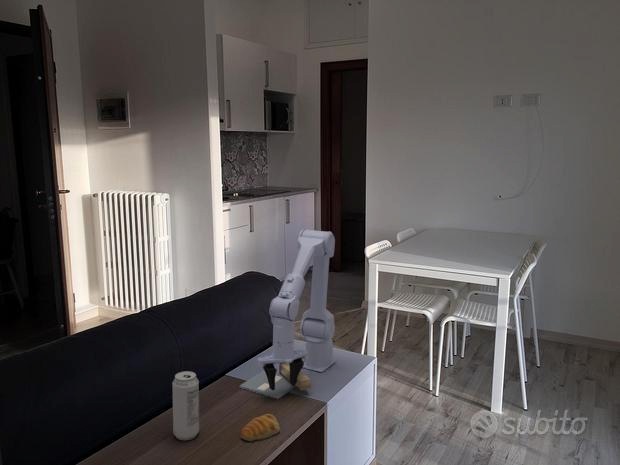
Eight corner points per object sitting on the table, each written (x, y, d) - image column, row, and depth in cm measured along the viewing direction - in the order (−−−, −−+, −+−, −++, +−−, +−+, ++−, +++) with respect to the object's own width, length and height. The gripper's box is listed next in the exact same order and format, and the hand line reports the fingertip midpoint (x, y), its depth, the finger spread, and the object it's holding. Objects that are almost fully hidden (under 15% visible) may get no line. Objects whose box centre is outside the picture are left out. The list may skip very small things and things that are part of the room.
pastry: (251, 447, 122) (251, 432, 122) (234, 435, 127) (234, 421, 126) (282, 433, 129) (282, 418, 128) (264, 422, 133) (264, 408, 133)
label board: (268, 369, 164) (268, 366, 164) (304, 379, 158) (304, 376, 158) (239, 388, 151) (239, 385, 151) (278, 399, 145) (278, 396, 145)
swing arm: (277, 371, 160) (277, 361, 160) (286, 369, 162) (286, 359, 161) (301, 393, 147) (301, 381, 146) (310, 390, 148) (310, 379, 148)
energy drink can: (184, 425, 130) (183, 368, 128) (204, 431, 128) (203, 373, 125) (168, 437, 125) (166, 377, 123) (188, 444, 122) (187, 383, 120)
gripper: (265, 349, 138) (264, 397, 141) (313, 340, 145) (312, 387, 147) (254, 340, 145) (254, 387, 147) (301, 332, 151) (300, 377, 154)
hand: (282, 386), depth 147 cm, fingers open, 6 cm apart
